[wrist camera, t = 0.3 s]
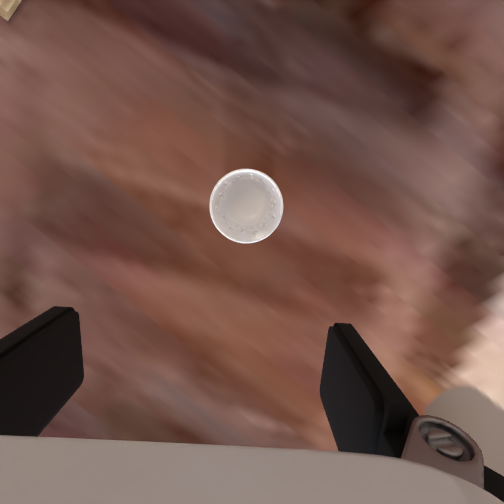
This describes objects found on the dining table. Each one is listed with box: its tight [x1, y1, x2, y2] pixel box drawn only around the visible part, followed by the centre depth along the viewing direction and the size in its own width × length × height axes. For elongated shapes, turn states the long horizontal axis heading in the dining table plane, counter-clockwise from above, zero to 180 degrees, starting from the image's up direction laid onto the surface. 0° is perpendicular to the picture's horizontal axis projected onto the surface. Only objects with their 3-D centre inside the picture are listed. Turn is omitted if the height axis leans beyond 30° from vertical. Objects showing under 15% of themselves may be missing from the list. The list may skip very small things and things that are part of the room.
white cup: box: [210, 169, 283, 243], centre depth 34 cm, size 8×8×10 cm
